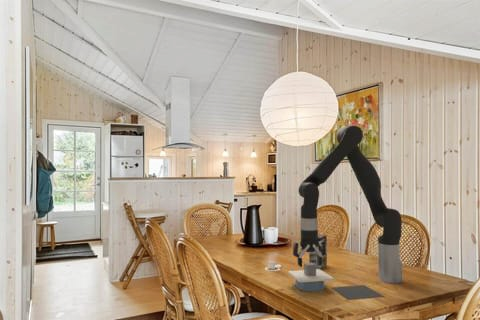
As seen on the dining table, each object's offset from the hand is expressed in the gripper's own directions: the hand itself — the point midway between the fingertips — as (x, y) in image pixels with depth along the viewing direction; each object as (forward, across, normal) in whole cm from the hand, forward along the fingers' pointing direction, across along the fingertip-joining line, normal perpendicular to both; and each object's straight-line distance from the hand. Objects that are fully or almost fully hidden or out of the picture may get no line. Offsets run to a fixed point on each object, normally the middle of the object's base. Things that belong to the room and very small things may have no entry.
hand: (309, 265), depth 163 cm
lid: (+5, 0, 0) cm, 5 cm away
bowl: (+10, 0, 0) cm, 10 cm away
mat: (+10, -16, +11) cm, 22 cm away
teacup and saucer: (+10, +5, -32) cm, 34 cm away
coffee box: (+10, -18, -33) cm, 39 cm away
